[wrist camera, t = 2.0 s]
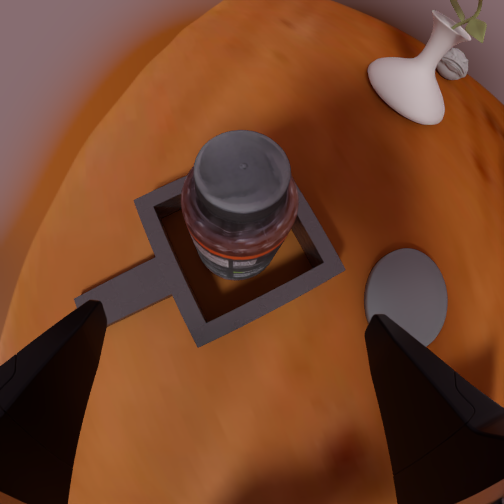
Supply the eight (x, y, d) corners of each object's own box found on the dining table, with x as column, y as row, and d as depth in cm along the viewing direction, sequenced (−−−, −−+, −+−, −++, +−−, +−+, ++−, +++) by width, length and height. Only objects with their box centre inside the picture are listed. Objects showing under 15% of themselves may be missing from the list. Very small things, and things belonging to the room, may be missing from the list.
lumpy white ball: (426, 72, 32) (445, 44, 25) (429, 58, 34) (446, 33, 27) (455, 95, 31) (476, 69, 25) (456, 78, 33) (474, 56, 26)
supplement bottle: (244, 194, 23) (258, 94, 12) (289, 252, 22) (345, 184, 11) (182, 235, 22) (145, 153, 11) (227, 298, 21) (226, 268, 10)
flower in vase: (368, 58, 30) (431, -75, 6) (435, 96, 30) (518, -15, 6) (354, 109, 27) (453, -76, 3) (437, 157, 27) (567, 23, 3)
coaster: (390, 372, 20) (395, 373, 20) (345, 280, 22) (349, 278, 21) (453, 316, 22) (458, 315, 21) (416, 234, 24) (420, 232, 23)
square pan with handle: (113, 383, 18) (100, 389, 16) (65, 254, 20) (50, 246, 18) (333, 275, 22) (345, 269, 20) (265, 159, 24) (269, 143, 22)
